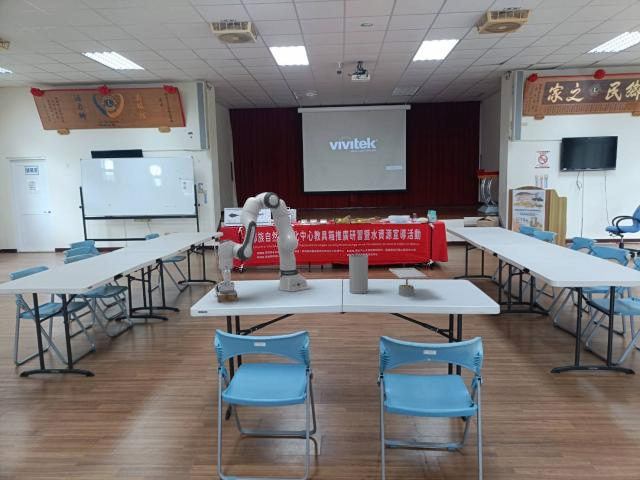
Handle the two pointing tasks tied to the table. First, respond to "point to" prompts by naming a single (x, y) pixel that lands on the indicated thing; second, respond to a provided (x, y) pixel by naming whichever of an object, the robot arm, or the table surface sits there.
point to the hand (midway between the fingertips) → (226, 286)
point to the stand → (227, 297)
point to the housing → (226, 290)
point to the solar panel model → (407, 273)
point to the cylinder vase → (358, 273)
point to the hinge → (218, 287)
